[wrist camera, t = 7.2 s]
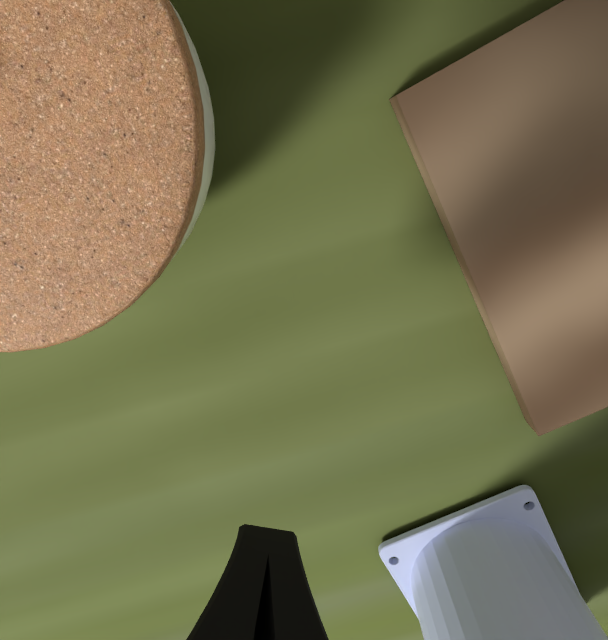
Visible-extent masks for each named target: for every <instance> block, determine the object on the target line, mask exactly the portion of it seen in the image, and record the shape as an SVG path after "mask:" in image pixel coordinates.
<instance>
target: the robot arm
mask: <svg viewBox="0 0 608 640" xmlns="http://www.w3.org/2000/svg"><path fill="white" fill-rule="evenodd" d="M527 502H530V503H528V504H526V505H524V504H525V503H527ZM378 550H379V555H380V557H381V559H382V561H383V562H384V564H385V565H386V567H387V569H388V570H389V572H390V574H391V575H392V577H393V578H394V580H395V582H396V583H397V585H398V586H399V588H400V590H401V591H402V593H403V595H404V596H405V598H406V599H407V601H408V603H409V604H410V606H411V607H412V609H413V611H414V612H415V614H416V616H417V617H418V619H419V621H420V625H421V629H422V633H423V637H424V640H608V637H607V636H606V634H605V632H604V631H603V629H602V628H601V626H600V625H599V623H598V621H597V620H596V618H595V617H594V615H593V614H592V612H591V610H590V609H589V607H588V606H587V604H586V603H585V601H584V600H583V598H582V596H581V595H580V593H579V591H578V588H577V586H576V584H575V582H574V579H573V577H572V575H571V573H570V570H569V568H568V566H567V564H566V561H565V559H564V557H563V555H562V552H561V550H560V548H559V546H558V543H557V541H556V539H555V537H554V534H553V532H552V530H551V528H550V525H549V523H548V521H547V519H546V516H545V514H544V512H543V510H542V507H541V505H540V503H539V501H538V498H537V496H536V494H535V492H534V491H533V489H532V488H531V487H530V486H528V485H520V486H517V487H515V488H512V489H510V490H507V491H505V492H503V493H500V494H498V495H495V496H493V497H491V498H488V499H486V500H483V501H481V502H478V503H476V504H474V505H471V506H469V507H466V508H464V509H461V510H459V511H457V512H454V513H452V514H449V515H447V516H444V517H442V518H440V519H437V520H435V521H432V522H430V523H428V524H425V525H423V526H420V527H418V528H415V529H413V530H411V531H408V532H406V533H403V534H401V535H398V536H396V537H394V538H391V539H389V540H386V541H384V542H382V543H381V544H380V545H379V548H378ZM391 557H395V558H391ZM187 640H329V639H328V637H327V634H326V632H325V629H324V627H323V624H322V622H321V619H320V616H319V613H318V610H317V608H316V605H315V602H314V599H313V596H312V593H311V590H310V587H309V584H308V581H307V578H306V574H305V571H304V567H303V564H302V560H301V556H300V552H299V547H298V543H297V537H296V535H295V534H294V532H291V531H284V530H278V529H272V528H266V527H259V526H253V525H247V524H244V525H242V526H240V527H239V531H238V536H237V540H236V543H235V546H234V549H233V551H232V554H231V557H230V559H229V561H228V564H227V566H226V568H225V570H224V573H223V575H222V577H221V579H220V581H219V583H218V585H217V587H216V589H215V591H214V593H213V595H212V597H211V598H210V600H209V602H208V604H207V606H206V607H205V609H204V611H203V613H202V614H201V616H200V618H199V619H198V621H197V623H196V625H195V626H194V628H193V630H192V631H191V633H190V635H189V636H188V638H187Z"/></svg>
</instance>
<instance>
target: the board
mask: <svg viewBox="0 0 608 640" xmlns="http://www.w3.org/2000/svg"><path fill="white" fill-rule="evenodd" d="M389 100H390V103H391V105H392V107H393V110H394V112H395V114H396V117H397V119H398V121H399V124H400V126H401V128H402V131H403V133H404V135H405V138H406V140H407V143H408V145H409V147H410V150H411V152H412V154H413V157H414V159H415V161H416V164H417V166H418V168H419V171H420V173H421V175H422V178H423V180H424V182H425V185H426V187H427V190H428V192H429V194H430V197H431V199H432V201H433V204H434V206H435V208H436V211H437V213H438V215H439V218H440V220H441V222H442V225H443V227H444V229H445V232H446V234H447V237H448V239H449V241H450V244H451V246H452V248H453V251H454V253H455V255H456V258H457V260H458V262H459V265H460V267H461V269H462V272H463V274H464V277H465V279H466V281H467V284H468V286H469V288H470V291H471V293H472V295H473V298H474V300H475V302H476V305H477V307H478V309H479V312H480V314H481V316H482V319H483V321H484V324H485V326H486V328H487V331H488V333H489V335H490V338H491V340H492V342H493V345H494V347H495V349H496V352H497V354H498V356H499V359H500V361H501V363H502V366H503V368H504V371H505V373H506V375H507V378H508V380H509V382H510V385H511V387H512V389H513V392H514V394H515V396H516V399H517V401H518V403H519V406H520V408H521V410H522V413H523V415H524V418H525V420H526V422H527V423H528V424H529V425H530V426H531V428H532V429H533V430H534V431H535V432H536V433H537V435H538V436H541V435H543V434H545V433H548V432H550V431H552V430H555V429H557V428H559V427H562V426H564V425H566V424H569V423H571V422H573V421H576V420H578V419H580V418H583V417H585V416H588V415H590V414H592V413H595V412H597V411H599V410H602V409H604V408H606V407H608V0H564V1H562V2H561V3H559V4H557V5H555V6H553V7H552V8H550V9H548V10H546V11H545V12H543V13H541V14H539V15H538V16H536V17H534V18H532V19H530V20H529V21H527V22H525V23H523V24H522V25H520V26H518V27H516V28H515V29H513V30H511V31H509V32H507V33H506V34H504V35H502V36H500V37H499V38H497V39H495V40H493V41H491V42H490V43H488V44H486V45H484V46H483V47H481V48H479V49H477V50H476V51H474V52H472V53H470V54H468V55H467V56H465V57H463V58H461V59H460V60H458V61H456V62H454V63H453V64H451V65H449V66H447V67H445V68H444V69H442V70H440V71H438V72H437V73H435V74H433V75H431V76H430V77H428V78H426V79H424V80H422V81H421V82H419V83H417V84H415V85H414V86H412V87H410V88H408V89H406V90H405V91H403V92H401V93H399V94H398V95H396V96H394V97H392V98H391V99H389Z"/></svg>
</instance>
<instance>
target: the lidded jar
mask: <svg viewBox="0 0 608 640" xmlns="http://www.w3.org/2000/svg"><path fill="white" fill-rule="evenodd" d="M214 155H215V128H214V115H213V109H212V104H211V98H210V93H209V88H208V85H207V82H206V79H205V76H204V72H203V69H202V66H201V63H200V60H199V57H198V54H197V51H196V49H195V46H194V44H193V42H192V40H191V38H190V36H189V34H188V32H187V30H186V28H185V26H184V24H183V22H182V20H181V18H180V16H179V14H178V12H177V11H176V9H175V8H174V6H173V5H172V3H171V2H170V0H0V352H17V351H24V350H32V349H40V348H46V347H49V346H53V345H56V344H59V343H63V342H66V341H70V340H73V339H76V338H78V337H80V336H82V335H84V334H86V333H88V332H90V331H93V330H95V329H97V328H99V327H101V326H103V325H104V324H106V323H107V322H109V321H110V320H111V319H113V318H114V317H116V316H117V315H118V314H120V313H121V312H123V311H124V310H125V309H127V308H128V307H130V306H131V305H132V304H133V303H134V302H135V301H136V300H137V299H138V298H139V297H140V296H141V295H142V294H143V293H144V292H145V291H146V290H147V289H148V288H149V287H150V286H151V285H152V284H153V283H154V282H155V281H156V280H157V279H158V278H159V277H160V275H161V274H162V272H163V271H164V269H165V268H166V266H167V265H168V264H169V262H170V261H171V260H172V259H173V258H174V257H175V256H176V254H177V253H178V251H179V250H180V248H181V247H182V245H183V244H184V242H185V241H186V240H187V238H188V237H189V235H190V234H191V232H192V230H193V227H194V225H195V223H196V221H197V219H198V217H199V214H200V212H201V210H202V208H203V206H204V203H205V200H206V197H207V193H208V189H209V186H210V182H211V178H212V172H213V164H214Z"/></svg>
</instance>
